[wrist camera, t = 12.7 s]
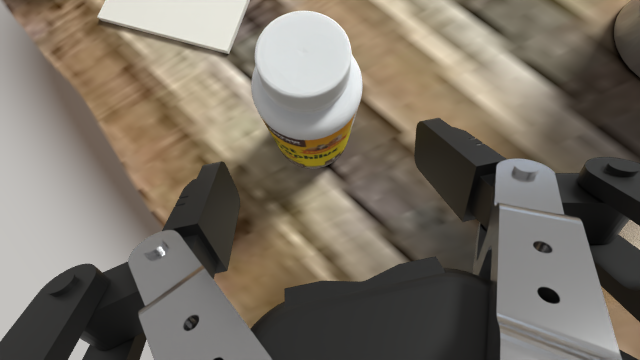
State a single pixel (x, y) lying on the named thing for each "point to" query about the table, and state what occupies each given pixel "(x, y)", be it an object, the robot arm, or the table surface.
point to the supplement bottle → (306, 86)
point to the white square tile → (181, 19)
